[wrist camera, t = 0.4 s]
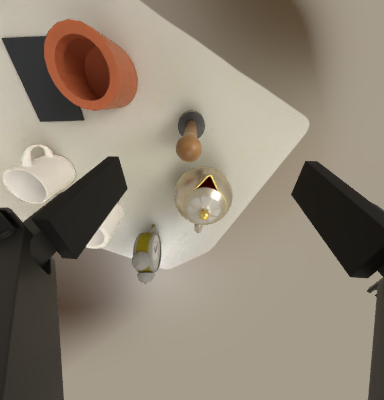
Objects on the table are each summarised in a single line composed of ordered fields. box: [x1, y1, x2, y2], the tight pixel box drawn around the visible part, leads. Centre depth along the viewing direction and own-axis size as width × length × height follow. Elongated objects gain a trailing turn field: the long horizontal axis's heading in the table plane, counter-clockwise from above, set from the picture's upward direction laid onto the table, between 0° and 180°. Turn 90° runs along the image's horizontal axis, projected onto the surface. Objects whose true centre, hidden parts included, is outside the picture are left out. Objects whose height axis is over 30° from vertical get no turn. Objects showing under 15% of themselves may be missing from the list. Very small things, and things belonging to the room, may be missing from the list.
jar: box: [44, 19, 138, 111], centre depth 29 cm, size 11×11×10 cm
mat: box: [2, 36, 84, 122], centre depth 34 cm, size 14×10×1 cm
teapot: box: [174, 167, 232, 233], centre depth 40 cm, size 18×14×16 cm
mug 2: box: [86, 202, 124, 249], centre depth 46 cm, size 14×10×11 cm
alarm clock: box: [132, 224, 161, 284], centre depth 50 cm, size 12×7×15 cm, turn 5°
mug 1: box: [3, 144, 76, 204], centre depth 39 cm, size 9×12×11 cm
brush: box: [176, 110, 205, 162], centre depth 28 cm, size 6×6×24 cm
